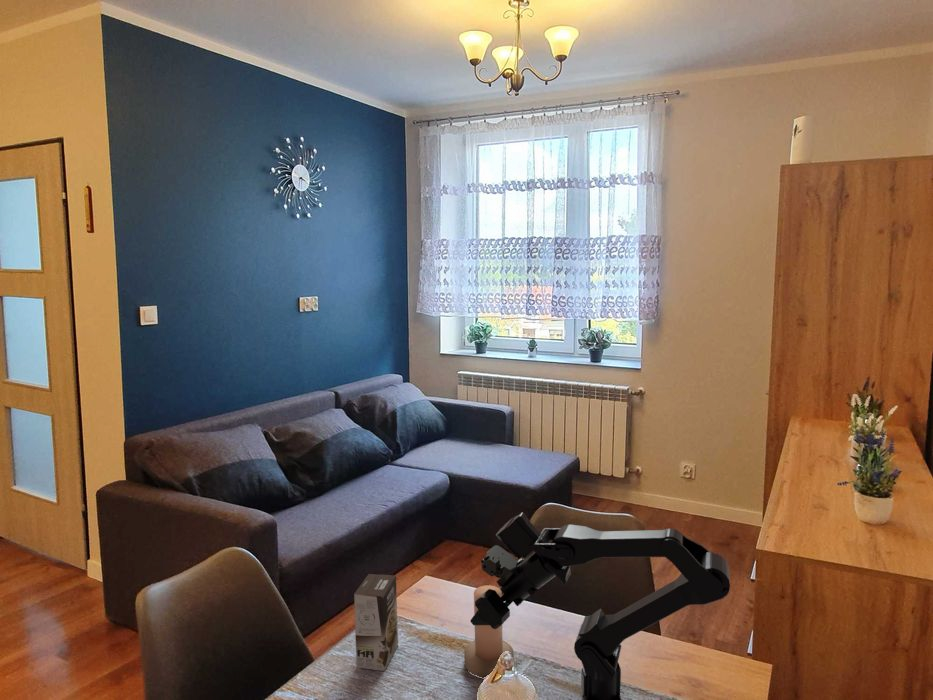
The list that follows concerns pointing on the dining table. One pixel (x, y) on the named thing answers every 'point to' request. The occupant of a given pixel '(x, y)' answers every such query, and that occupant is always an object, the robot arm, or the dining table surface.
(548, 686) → the dining table surface
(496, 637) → the candle
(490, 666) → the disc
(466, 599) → the dining table surface
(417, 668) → the dining table surface
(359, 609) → the coffee box
